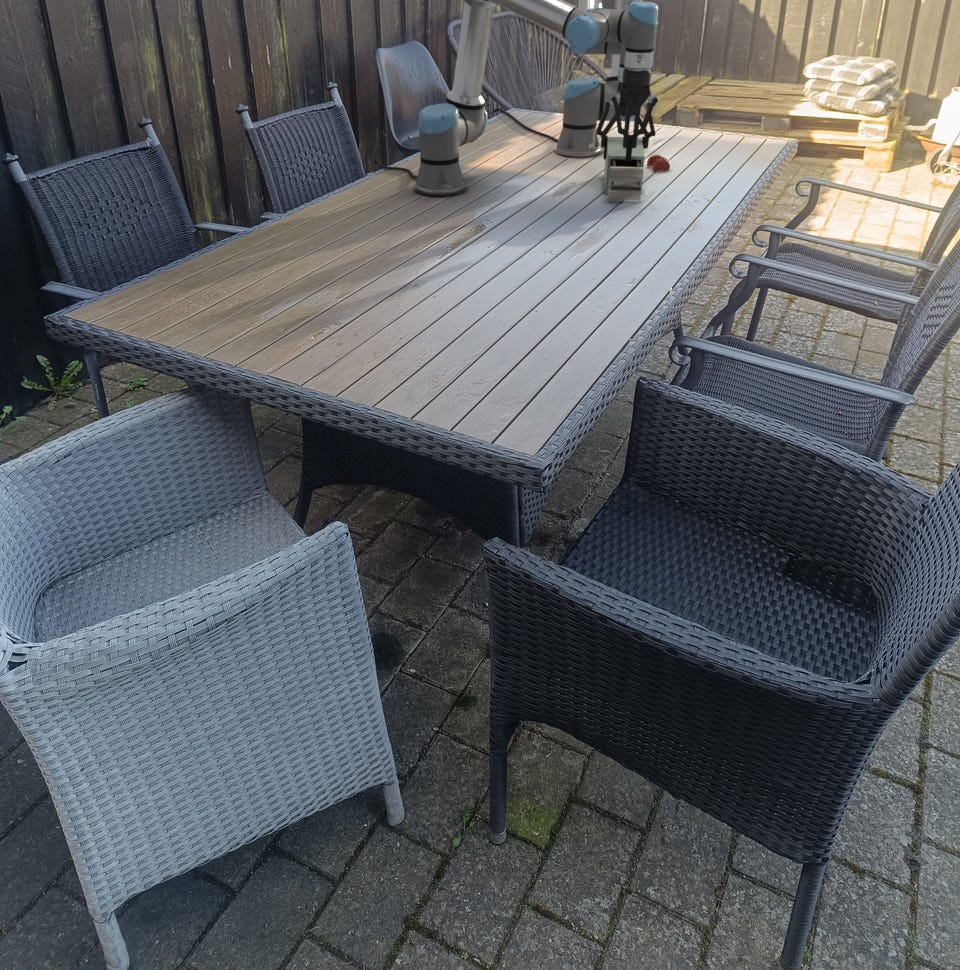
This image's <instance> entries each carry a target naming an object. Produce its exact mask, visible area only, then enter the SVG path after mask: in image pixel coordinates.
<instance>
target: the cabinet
mask: <svg viewBox="0 0 960 970" xmlns="http://www.w3.org/2000/svg"><path fill="white" fill-rule="evenodd" d="M623 137H624V136H608V142H607V153H606V160H604V171H603V176H604V177H603V178H604V179H603V181H604V194H608V186H609V175H610V166H611V159H625V156H626V148H623ZM645 158H646V156H645V149H643V143H642V137H637V146H636V148H632V155H631V160H639V163H640V167H643V168H644V167H645ZM644 169H645V168H644Z"/></svg>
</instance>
